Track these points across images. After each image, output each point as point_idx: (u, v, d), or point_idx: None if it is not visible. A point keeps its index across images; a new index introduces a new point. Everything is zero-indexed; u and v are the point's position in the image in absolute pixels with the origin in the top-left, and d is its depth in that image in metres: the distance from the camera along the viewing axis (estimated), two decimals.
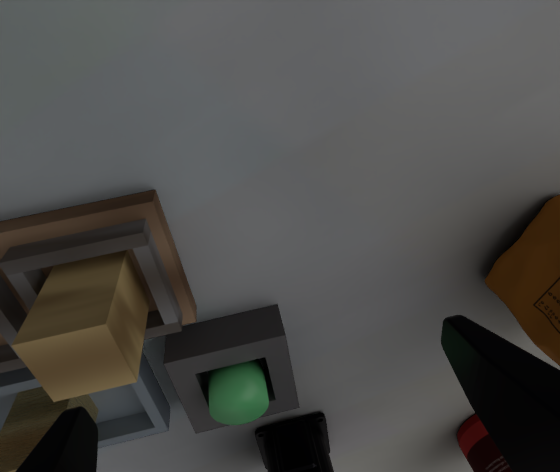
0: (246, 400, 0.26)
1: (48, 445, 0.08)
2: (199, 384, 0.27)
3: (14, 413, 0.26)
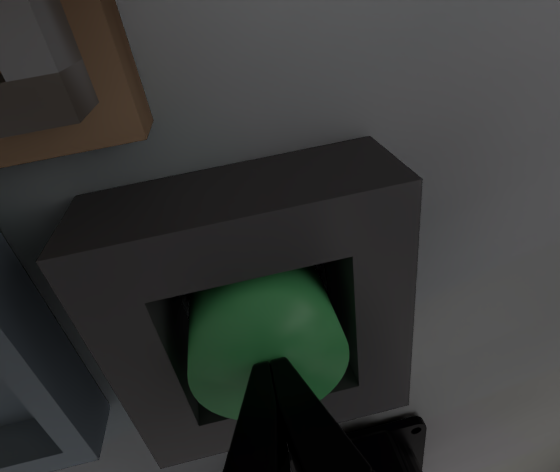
0: (292, 351, 0.09)
1: (259, 393, 0.08)
2: (161, 339, 0.09)
3: None
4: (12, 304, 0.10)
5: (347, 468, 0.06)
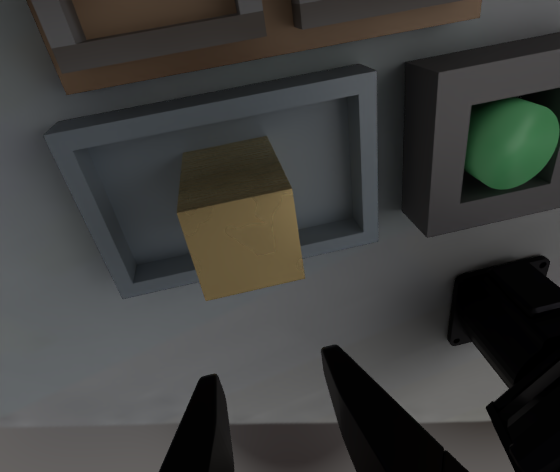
0: (531, 137, 0.18)
1: (200, 407, 0.08)
2: (466, 133, 0.17)
3: (190, 166, 0.17)
4: None
5: (419, 449, 0.07)
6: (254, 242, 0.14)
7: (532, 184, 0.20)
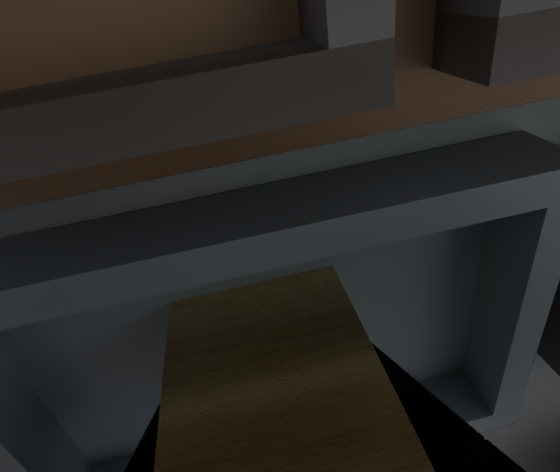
0: None
1: None
2: None
3: (184, 363, 0.08)
4: None
5: (460, 438, 0.07)
6: None
7: None
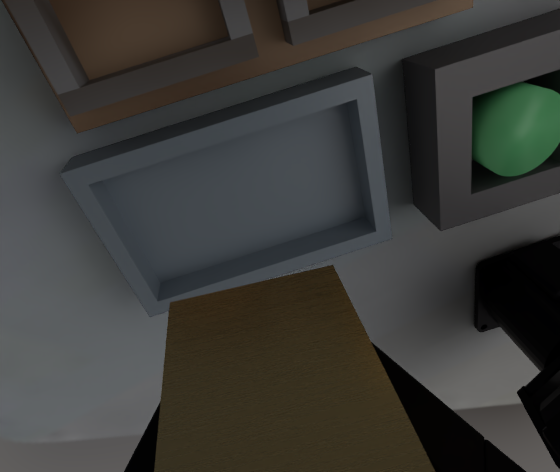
0: (538, 121, 0.17)
1: None
2: (470, 125, 0.17)
3: (185, 363, 0.08)
4: None
5: (460, 438, 0.07)
6: None
7: (544, 166, 0.19)
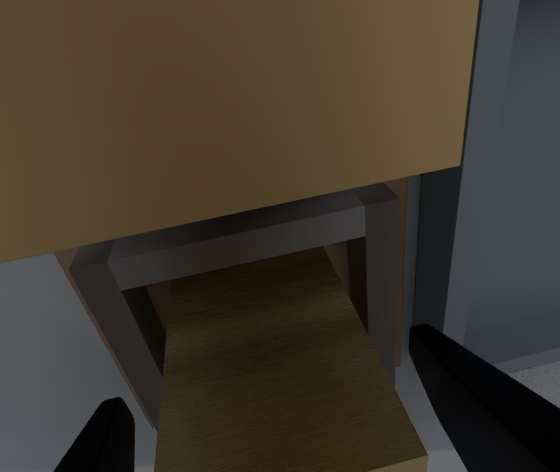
0: None
1: (92, 434, 0.08)
2: None
3: (186, 318, 0.09)
4: None
5: (545, 416, 0.07)
6: None
7: None
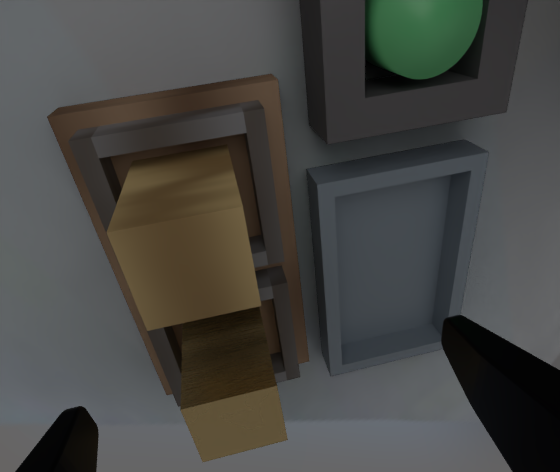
0: (420, 3, 0.14)
1: (48, 445, 0.08)
2: (394, 92, 0.16)
3: (190, 335, 0.19)
4: (360, 169, 0.19)
5: None
6: (245, 421, 0.17)
7: None
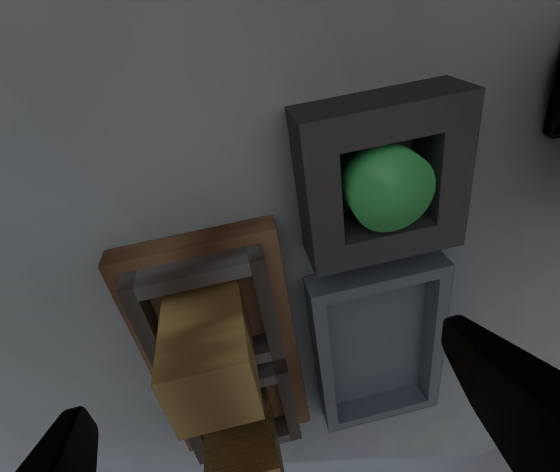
0: (385, 185, 0.18)
1: (48, 445, 0.08)
2: (369, 239, 0.20)
3: None
4: (347, 280, 0.23)
5: None
6: None
7: (440, 145, 0.18)
